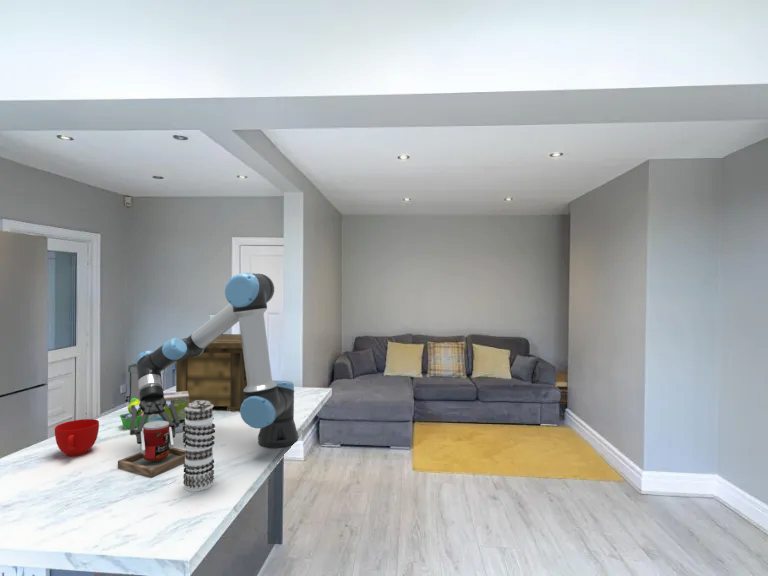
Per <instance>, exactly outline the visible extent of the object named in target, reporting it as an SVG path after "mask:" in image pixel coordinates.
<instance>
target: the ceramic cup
mask: <svg viewBox="0 0 768 576" xmlns="http://www.w3.org/2000/svg"><path fill="white" fill-rule="evenodd" d="M99 429H100V421H99V420H98V419H93V418H85V419H84V418H83V419H76V420H69V421H66V422H63V423H60V424H57V425H56V426H55V427H54V438H55V442H56V444H57V445H56V446H57V447H58V449H59V451H61V452H62V453H63V454H65V456H67V457H76V456H77V457H78V456H81V455H85V454H87V453H88V452H89V451H90V450H91V449H92V447H93V446H94V444H95V443H96V442H97V438H98V435H99Z"/></svg>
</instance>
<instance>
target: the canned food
mask: <svg viewBox="0 0 768 576" xmlns="http://www.w3.org/2000/svg"><path fill="white" fill-rule="evenodd" d="M142 432H143V433H144V442H145V453H144V454H143V457H144V459H145V460H148V461H156V460H161V459H164V458H166V457H167V456H168V454H169V447H170V444H169V422H167V421H152V422H149V423H146V424H144V426H143V428H142Z"/></svg>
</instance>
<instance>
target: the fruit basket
mask: <svg viewBox="0 0 768 576" xmlns="http://www.w3.org/2000/svg"><path fill="white" fill-rule="evenodd" d="M139 404H140V398H139V399H138V398H136V397H133V398H131V399H130V401H129V404H128V406H127V410H128V412H126V413H124V414H122V413H121V414H120V415H119V418H120V419H121V422H122V426H123V428H124V427H125V428H126V429H128V430H130V427H131V419H132V414H131V411H130V410H131V406H132V405H135V406H136V405H139ZM143 414H144V412H143V411H142V410H141V409H138V412H136V420H135V427H138V426H139V424H140V421H141V419H142V416H143ZM146 423H148V416H147V418H146V421H145V423H144V424H146ZM125 428H124V429H125ZM126 429H125V430H126Z"/></svg>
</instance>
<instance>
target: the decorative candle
mask: <svg viewBox="0 0 768 576" xmlns="http://www.w3.org/2000/svg"><path fill="white" fill-rule="evenodd" d="M214 407H215V406H214V405H212V404H211V403H210V402H209V401H207V400H197V401H193V402H191V403H189V404H188V406H187V407H186V408H185V410H186V418H185V421H184V422H182V423H183V424H182V425H183V429H182V430H183V431H184V432H183V433H182V438H183V439H182V443H183V444H184V445H183V450H186V456H185V463H183V473H184V474H183V477H182V478H183V483H182V484H183V489H184V490H185V491H187V492H199V491H200V490H201V491H204V489H205V490H207V489H209V488H211V487H213V485H214V483H215V470H214V468H215V465H214V463H215V459H214V453H213V447H214V445H215V441H214V440H215V436H214V434H215V433H216V430H215V429H214V428H216V425H215V424H214V423H213V422H214V419H215V418H214V414H213V408H214ZM185 428H186V430H185Z"/></svg>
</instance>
